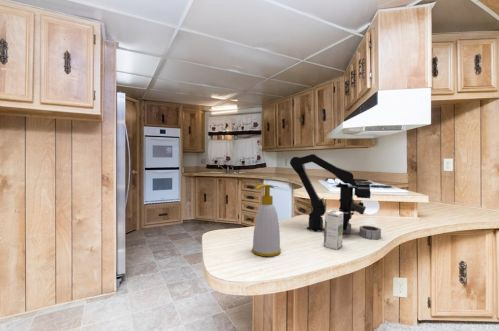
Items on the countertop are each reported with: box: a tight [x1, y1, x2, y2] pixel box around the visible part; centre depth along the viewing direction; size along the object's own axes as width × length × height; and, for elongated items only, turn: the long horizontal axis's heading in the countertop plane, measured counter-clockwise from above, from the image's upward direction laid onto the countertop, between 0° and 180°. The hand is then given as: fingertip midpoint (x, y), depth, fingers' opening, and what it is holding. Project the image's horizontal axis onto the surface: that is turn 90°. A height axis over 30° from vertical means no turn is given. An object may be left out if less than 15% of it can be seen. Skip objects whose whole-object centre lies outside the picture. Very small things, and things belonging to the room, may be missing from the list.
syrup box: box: [323, 209, 344, 250], centre depth 100 cm, size 6×6×14 cm
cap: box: [343, 222, 352, 235], centre depth 118 cm, size 5×5×4 cm
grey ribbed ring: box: [358, 225, 382, 241], centre depth 113 cm, size 9×9×4 cm
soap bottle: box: [251, 183, 282, 257], centre depth 94 cm, size 11×12×26 cm
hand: (345, 228), depth 118 cm, fingers closed on cap, 5 cm apart
